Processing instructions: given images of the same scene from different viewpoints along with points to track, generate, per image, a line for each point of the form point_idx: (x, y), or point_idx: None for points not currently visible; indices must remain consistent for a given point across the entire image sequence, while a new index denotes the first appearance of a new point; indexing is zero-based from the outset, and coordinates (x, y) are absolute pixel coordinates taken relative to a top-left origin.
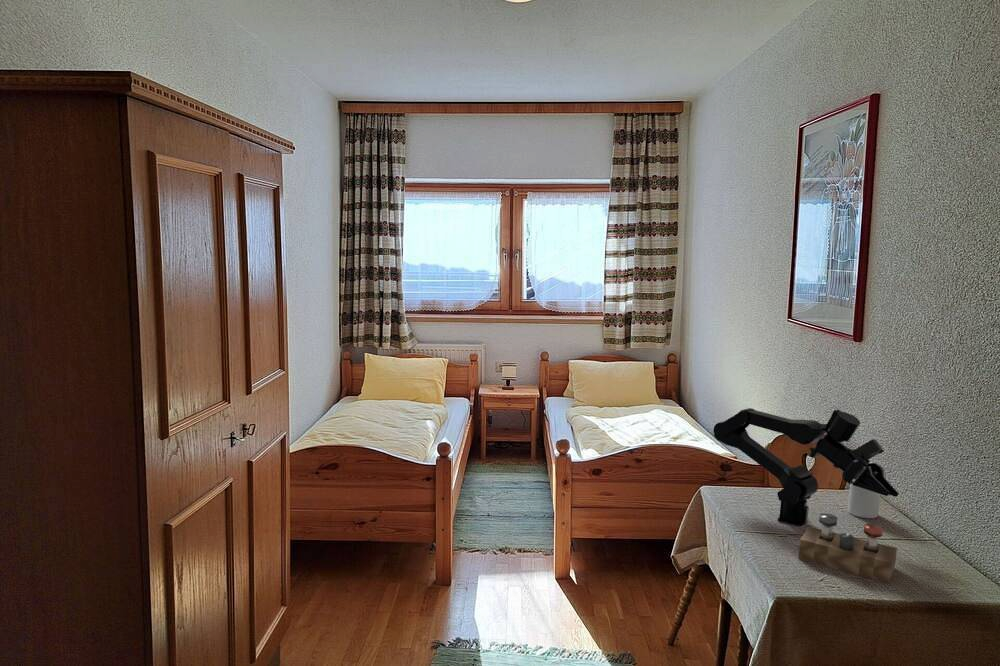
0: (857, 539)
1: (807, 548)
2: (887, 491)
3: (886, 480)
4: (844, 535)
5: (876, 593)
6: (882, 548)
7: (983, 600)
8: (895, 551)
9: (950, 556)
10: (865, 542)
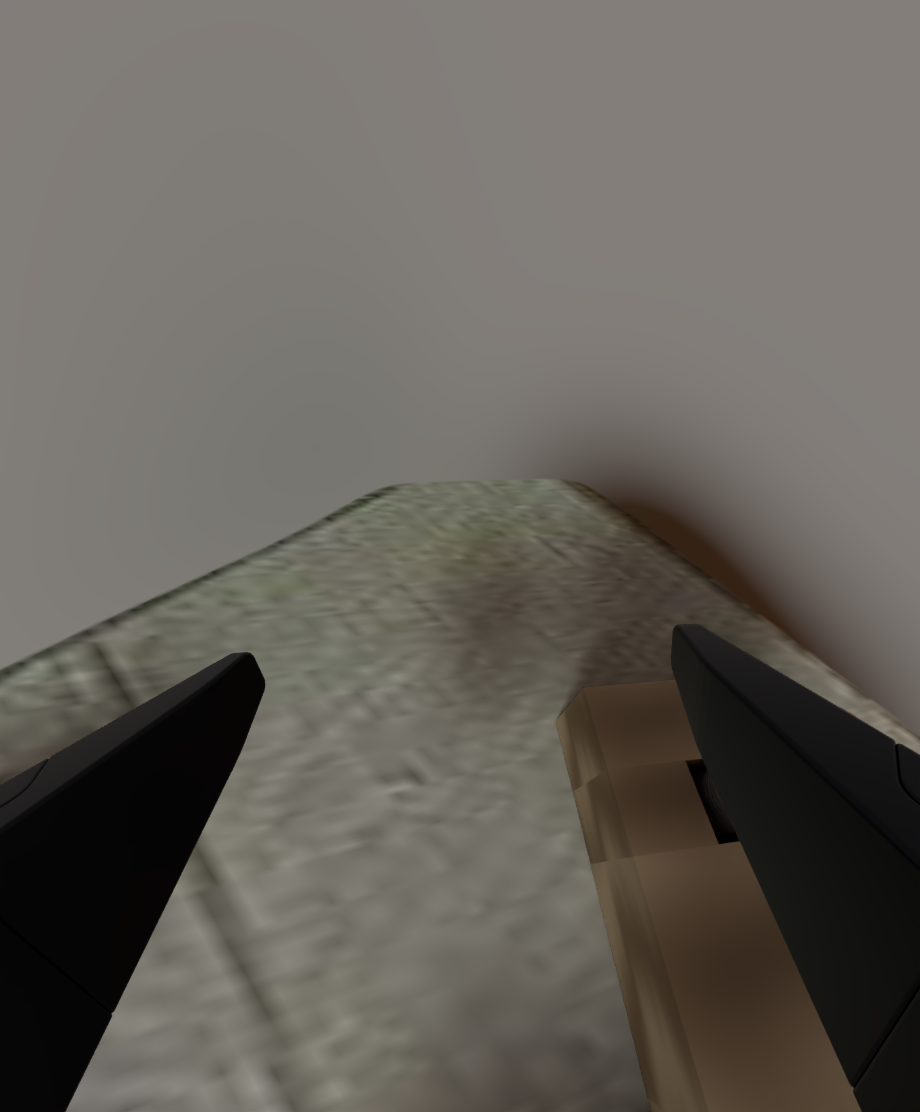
0: (675, 927)
1: None
2: (711, 638)
3: (3, 811)
4: None
5: None
6: (659, 746)
7: (562, 490)
8: (632, 684)
9: (272, 578)
10: (671, 858)
